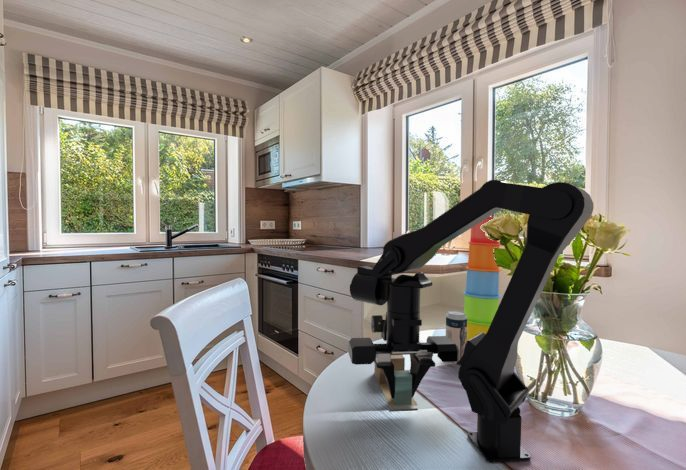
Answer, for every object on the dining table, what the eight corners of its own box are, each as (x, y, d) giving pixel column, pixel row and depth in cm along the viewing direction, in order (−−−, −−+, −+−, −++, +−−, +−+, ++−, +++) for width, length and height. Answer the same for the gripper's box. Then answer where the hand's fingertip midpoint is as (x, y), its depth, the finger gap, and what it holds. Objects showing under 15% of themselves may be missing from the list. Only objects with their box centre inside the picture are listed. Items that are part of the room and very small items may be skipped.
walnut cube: (404, 383, 72) (404, 358, 71) (379, 383, 71) (379, 358, 71) (397, 372, 76) (398, 349, 76) (374, 373, 76) (374, 349, 76)
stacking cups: (452, 341, 100) (456, 216, 99) (488, 340, 101) (491, 217, 100) (469, 355, 90) (473, 216, 89) (508, 354, 91) (513, 216, 90)
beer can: (467, 368, 82) (468, 316, 81) (445, 366, 83) (446, 314, 82) (464, 360, 86) (465, 310, 86) (443, 358, 87) (445, 309, 87)
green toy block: (417, 410, 63) (418, 376, 63) (389, 411, 63) (390, 377, 62) (396, 376, 77) (397, 348, 77) (373, 376, 76) (374, 348, 76)
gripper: (437, 299, 73) (435, 375, 73) (345, 300, 71) (344, 378, 71) (461, 313, 62) (459, 403, 62) (353, 315, 60) (351, 408, 60)
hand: (401, 396), depth 64 cm, fingers closed on green toy block, 3 cm apart
